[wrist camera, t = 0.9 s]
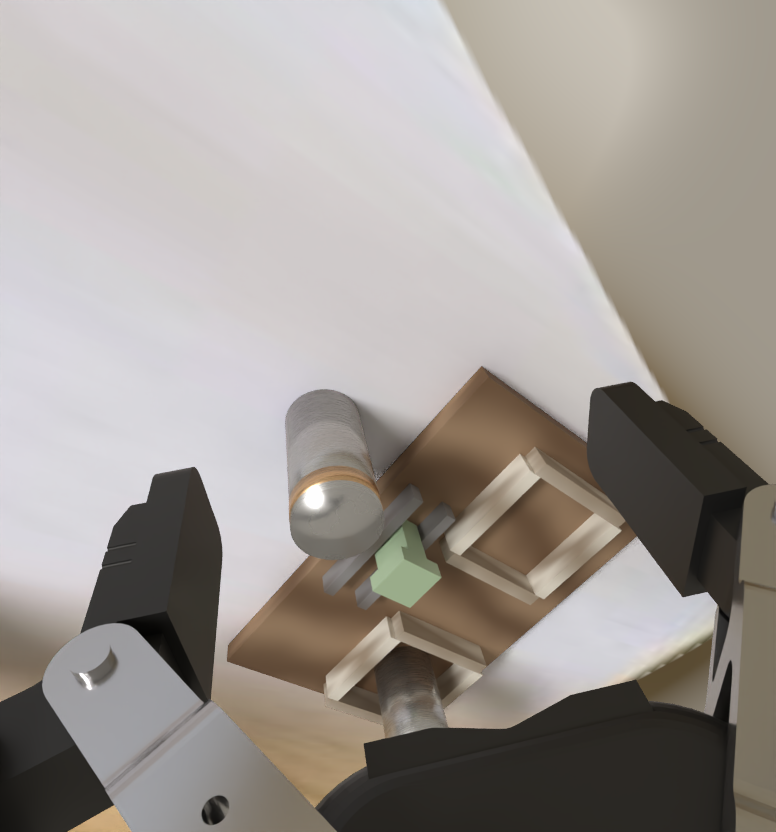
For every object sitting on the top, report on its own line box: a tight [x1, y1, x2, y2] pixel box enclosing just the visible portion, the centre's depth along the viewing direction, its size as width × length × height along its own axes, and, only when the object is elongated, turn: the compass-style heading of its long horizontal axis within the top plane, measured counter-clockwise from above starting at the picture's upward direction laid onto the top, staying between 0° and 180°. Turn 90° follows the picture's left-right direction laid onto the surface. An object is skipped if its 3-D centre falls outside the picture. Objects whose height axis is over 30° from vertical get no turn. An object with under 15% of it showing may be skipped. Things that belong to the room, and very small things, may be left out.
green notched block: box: [370, 520, 442, 608], centre depth 41 cm, size 3×3×5 cm
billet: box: [285, 389, 385, 560], centre depth 35 cm, size 5×5×10 cm
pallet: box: [227, 366, 637, 725], centre depth 47 cm, size 30×20×4 cm, turn 141°
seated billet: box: [374, 646, 448, 738], centre depth 47 cm, size 5×5×10 cm
